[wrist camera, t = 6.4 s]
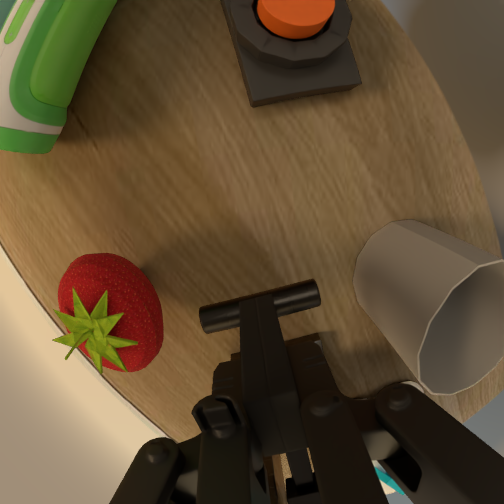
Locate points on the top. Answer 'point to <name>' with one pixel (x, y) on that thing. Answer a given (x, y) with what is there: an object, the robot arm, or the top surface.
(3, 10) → the teapot
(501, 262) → the cup
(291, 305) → the lever
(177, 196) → the top surface
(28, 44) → the speaker
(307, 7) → the button
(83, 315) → the strawberry
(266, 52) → the control block
